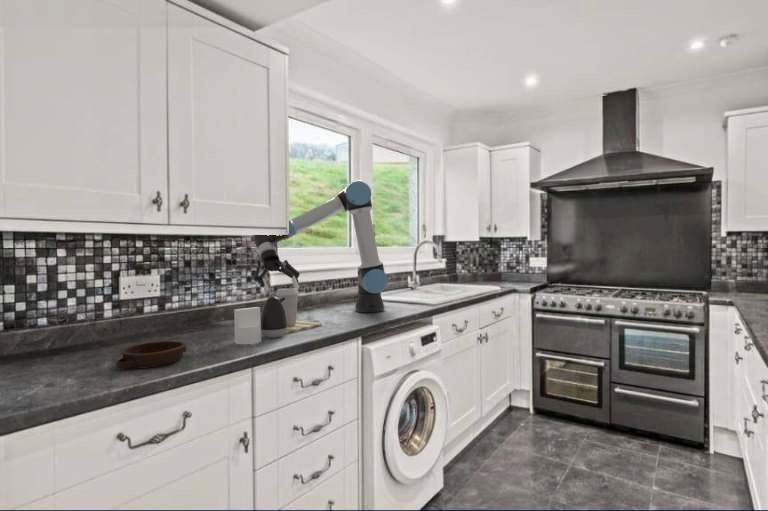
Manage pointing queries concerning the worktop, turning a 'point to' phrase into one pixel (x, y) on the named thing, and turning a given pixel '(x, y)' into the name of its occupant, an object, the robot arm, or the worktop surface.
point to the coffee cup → (289, 303)
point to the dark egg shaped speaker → (273, 318)
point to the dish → (151, 354)
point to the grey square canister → (247, 325)
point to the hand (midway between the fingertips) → (282, 290)
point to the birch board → (301, 326)
